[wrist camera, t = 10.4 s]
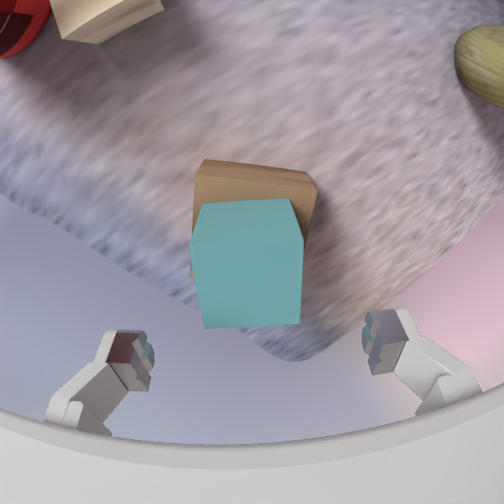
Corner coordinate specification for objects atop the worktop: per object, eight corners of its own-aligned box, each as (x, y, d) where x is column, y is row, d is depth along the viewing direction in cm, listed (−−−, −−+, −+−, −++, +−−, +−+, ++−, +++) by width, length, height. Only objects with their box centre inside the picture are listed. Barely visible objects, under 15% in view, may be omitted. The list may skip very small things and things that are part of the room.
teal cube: (202, 203, 18) (188, 246, 13) (288, 198, 18) (303, 240, 13) (212, 274, 20) (204, 328, 16) (288, 270, 20) (299, 323, 16)
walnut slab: (204, 158, 20) (195, 174, 17) (305, 171, 21) (317, 190, 17) (198, 246, 24) (190, 276, 20) (287, 256, 24) (293, 287, 21)
